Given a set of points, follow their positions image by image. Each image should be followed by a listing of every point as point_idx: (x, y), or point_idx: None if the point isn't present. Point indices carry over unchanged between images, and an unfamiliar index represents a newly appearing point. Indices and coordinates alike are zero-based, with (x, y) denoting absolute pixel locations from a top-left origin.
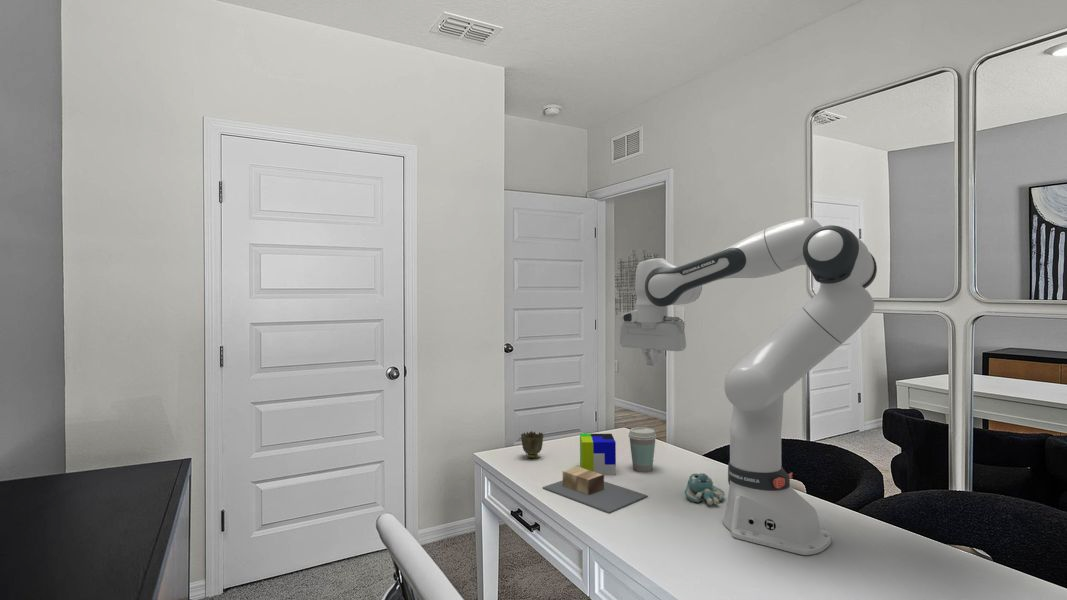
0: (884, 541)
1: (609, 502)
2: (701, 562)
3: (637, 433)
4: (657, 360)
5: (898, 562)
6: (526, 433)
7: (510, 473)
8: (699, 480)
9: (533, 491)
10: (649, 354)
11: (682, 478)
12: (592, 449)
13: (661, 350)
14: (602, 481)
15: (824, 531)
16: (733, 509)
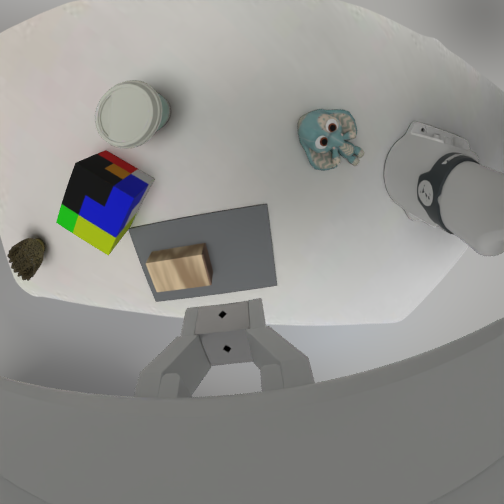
0: (488, 115)
1: (252, 267)
2: (404, 280)
3: (136, 142)
4: (264, 323)
5: (498, 153)
6: (10, 262)
7: (90, 300)
8: (333, 148)
9: (160, 312)
10: (177, 360)
11: (237, 86)
12: (120, 232)
13: (313, 379)
14: (205, 252)
15: (465, 144)
16: (421, 219)
